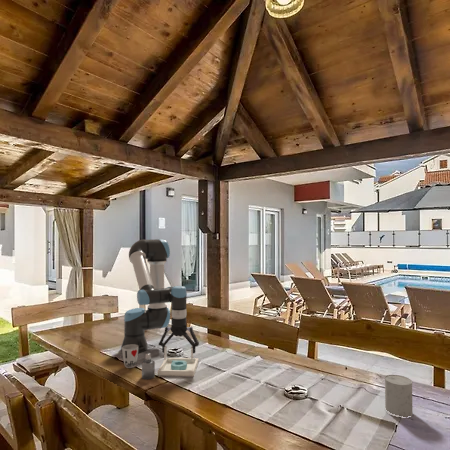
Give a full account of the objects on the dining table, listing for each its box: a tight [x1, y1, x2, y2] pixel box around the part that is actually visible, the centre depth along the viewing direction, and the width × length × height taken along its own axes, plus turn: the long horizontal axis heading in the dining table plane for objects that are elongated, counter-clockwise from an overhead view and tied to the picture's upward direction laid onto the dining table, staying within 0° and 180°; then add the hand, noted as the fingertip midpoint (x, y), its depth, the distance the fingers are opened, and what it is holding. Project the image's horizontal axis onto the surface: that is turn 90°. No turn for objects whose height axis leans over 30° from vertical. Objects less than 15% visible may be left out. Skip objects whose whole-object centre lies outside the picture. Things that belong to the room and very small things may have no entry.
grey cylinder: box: [384, 374, 414, 417], centre depth 136 cm, size 10×10×12 cm
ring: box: [171, 360, 187, 370], centre depth 179 cm, size 9×8×2 cm
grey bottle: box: [141, 352, 156, 381], centre depth 169 cm, size 6×6×11 cm
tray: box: [157, 357, 199, 378], centre depth 178 cm, size 17×17×2 cm
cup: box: [121, 344, 139, 369], centre depth 183 cm, size 8×8×10 cm
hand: (178, 359), depth 179 cm, fingers open, 13 cm apart
